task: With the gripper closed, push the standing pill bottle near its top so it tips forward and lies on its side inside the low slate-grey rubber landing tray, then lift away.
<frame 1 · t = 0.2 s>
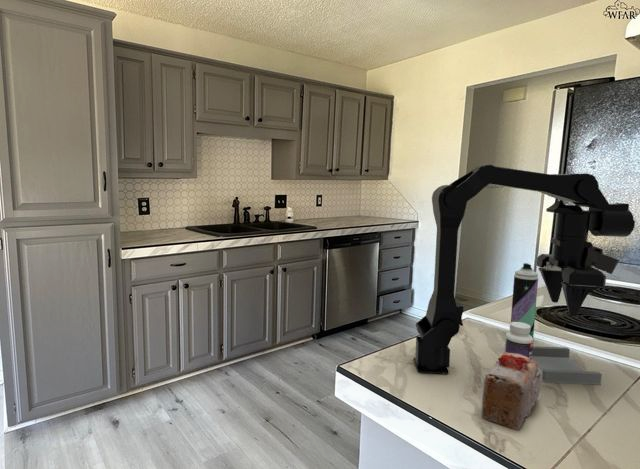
hand: (563, 308, 84), 14 cm above the counter, tool pointing down, fingers open, 9 cm apart
pill bottle: (516, 367, 88), on the counter
landing tray: (556, 368, 87), on the counter
food item: (511, 409, 72), on the counter
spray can: (521, 339, 104), on the counter
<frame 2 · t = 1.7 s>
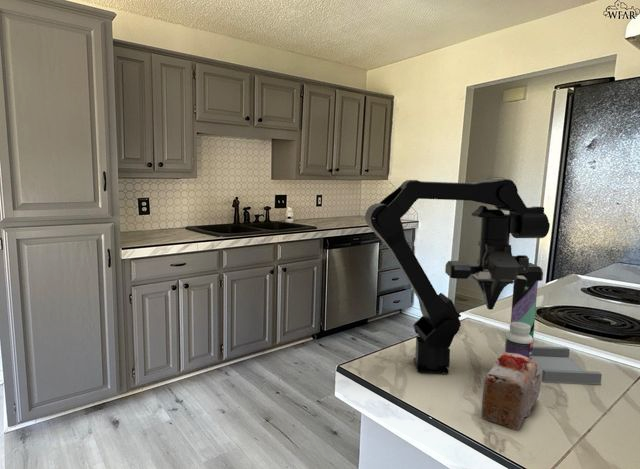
hand: (489, 309, 87), 13 cm above the counter, tool pointing down, fingers closed
nothing on the counter moved.
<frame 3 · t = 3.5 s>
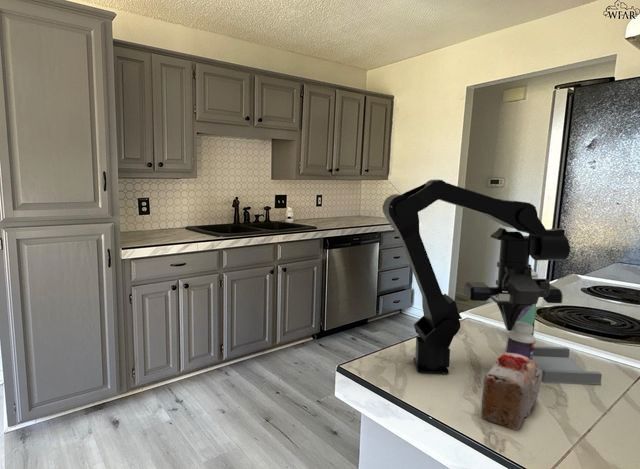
hand: (508, 330, 87), 8 cm above the counter, tool pointing down, fingers closed
pill bottle: (516, 367, 88), on the counter, touching gripper
everything else where it was.
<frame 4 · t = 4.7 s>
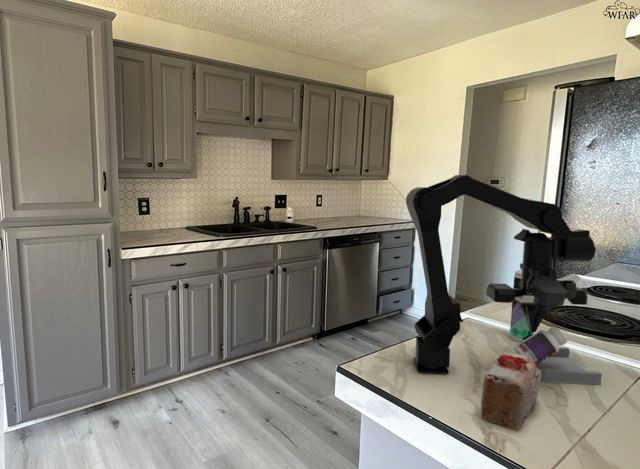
hand: (532, 331, 87), 8 cm above the counter, tool pointing down, fingers closed
pill bottle: (520, 358, 88), point 2 cm above the counter
everything else where it was.
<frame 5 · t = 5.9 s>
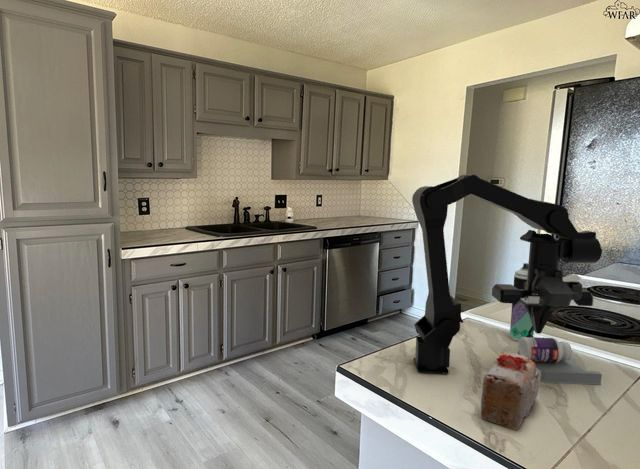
hand: (537, 332, 87), 8 cm above the counter, tool pointing down, fingers closed
pill bottle: (521, 349, 90), point 3 cm above the counter, touching landing tray
everything else where it was.
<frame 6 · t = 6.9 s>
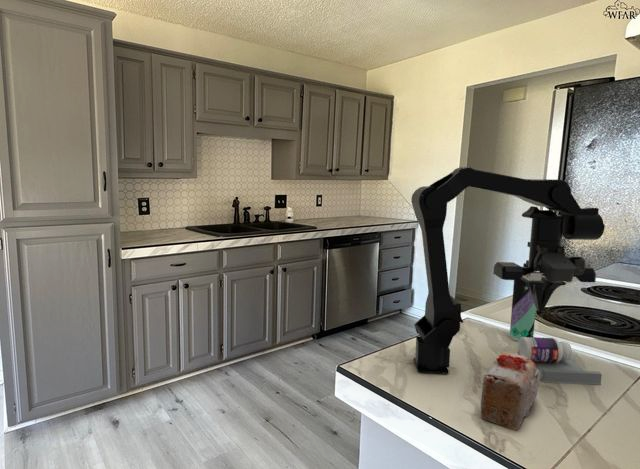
hand: (539, 310, 86), 13 cm above the counter, tool pointing down, fingers closed
nothing on the counter moved.
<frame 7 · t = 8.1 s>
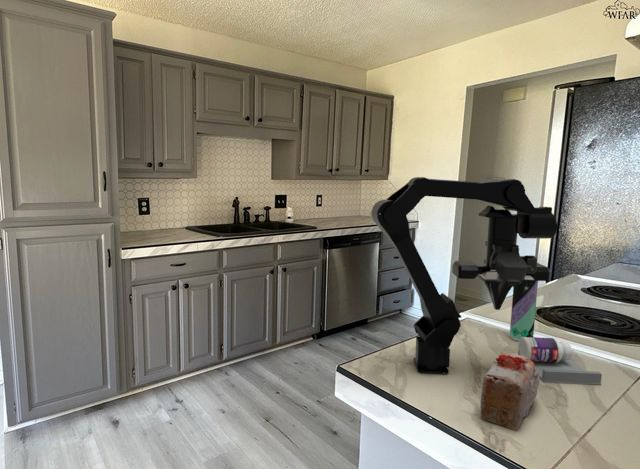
hand: (496, 309, 87), 13 cm above the counter, tool pointing down, fingers closed
nothing on the counter moved.
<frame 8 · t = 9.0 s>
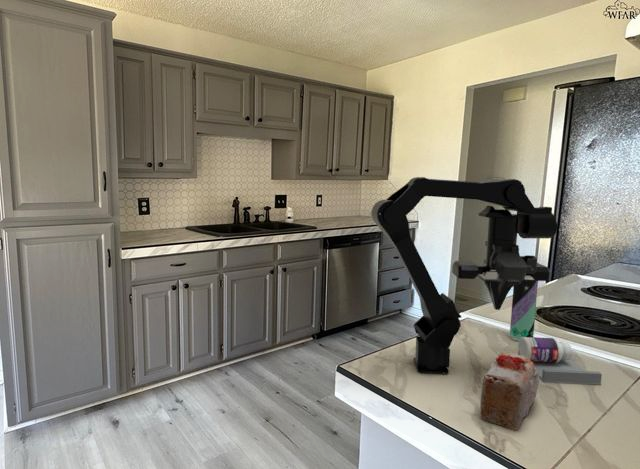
hand: (496, 309, 87), 13 cm above the counter, tool pointing down, fingers closed
nothing on the counter moved.
at the end: pill bottle tilted 89°; pill bottle inside the target area (5.6 cm from its centre), point 2.9 cm above the counter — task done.
